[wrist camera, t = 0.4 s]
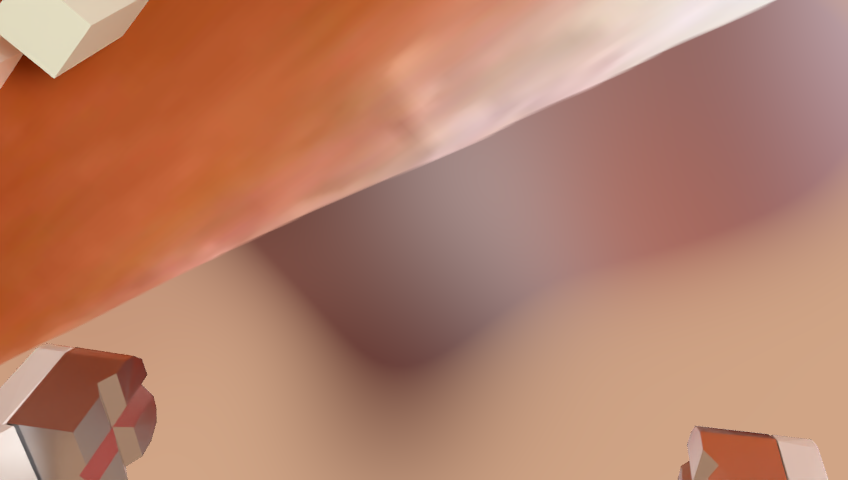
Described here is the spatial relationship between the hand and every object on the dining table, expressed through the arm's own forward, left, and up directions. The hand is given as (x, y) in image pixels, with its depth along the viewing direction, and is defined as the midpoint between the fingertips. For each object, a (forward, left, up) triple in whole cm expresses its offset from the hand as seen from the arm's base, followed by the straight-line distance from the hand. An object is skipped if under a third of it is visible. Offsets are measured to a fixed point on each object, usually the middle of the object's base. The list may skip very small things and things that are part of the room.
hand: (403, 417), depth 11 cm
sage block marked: (+3, -29, -47) cm, 55 cm away
